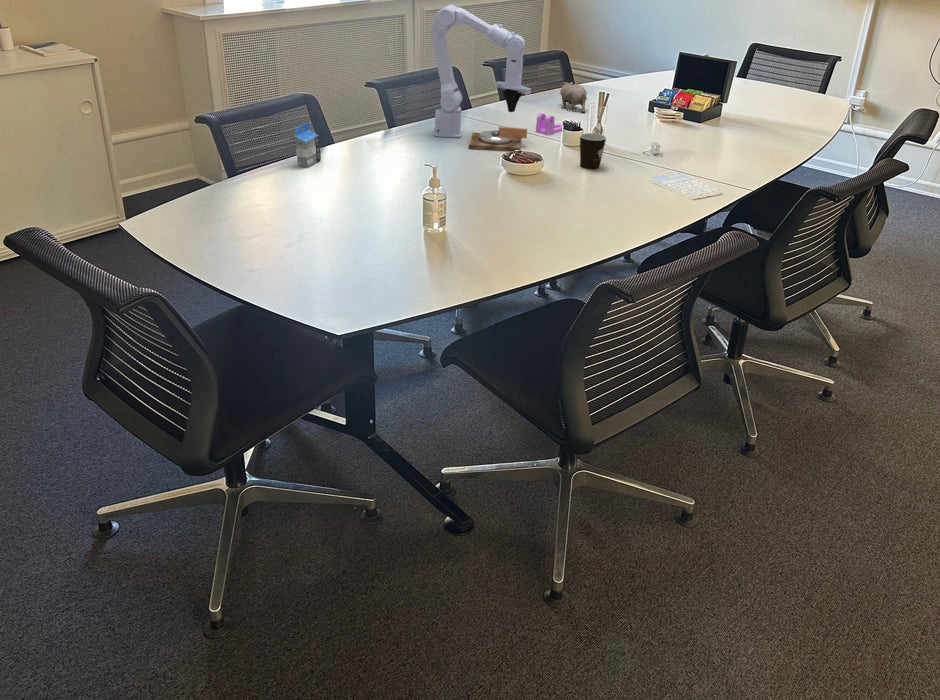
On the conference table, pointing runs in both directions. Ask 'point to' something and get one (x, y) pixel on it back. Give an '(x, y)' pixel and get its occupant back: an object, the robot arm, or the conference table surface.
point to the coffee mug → (591, 150)
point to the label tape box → (307, 146)
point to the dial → (502, 135)
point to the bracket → (547, 125)
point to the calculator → (684, 184)
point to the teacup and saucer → (654, 148)
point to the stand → (480, 145)
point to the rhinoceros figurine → (573, 95)
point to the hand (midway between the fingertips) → (511, 111)
